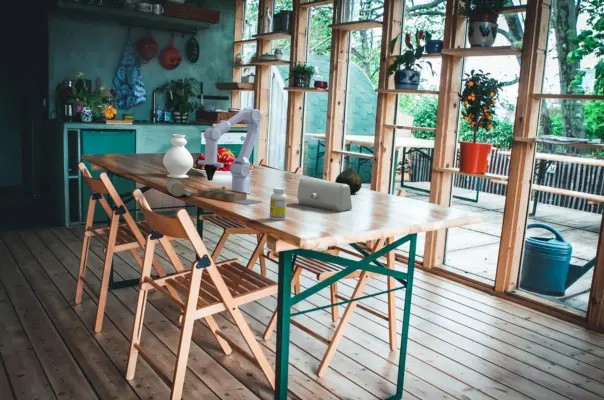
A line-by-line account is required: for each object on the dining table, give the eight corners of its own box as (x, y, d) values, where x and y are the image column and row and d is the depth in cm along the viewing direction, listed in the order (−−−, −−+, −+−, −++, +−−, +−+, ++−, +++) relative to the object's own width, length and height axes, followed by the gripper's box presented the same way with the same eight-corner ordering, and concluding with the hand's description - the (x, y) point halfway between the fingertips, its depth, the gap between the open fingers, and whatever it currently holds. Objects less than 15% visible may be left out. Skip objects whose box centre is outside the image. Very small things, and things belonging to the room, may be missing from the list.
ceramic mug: (170, 197, 266) (171, 181, 265) (166, 194, 274) (167, 178, 272) (192, 197, 271) (193, 181, 270) (188, 194, 278) (189, 179, 277)
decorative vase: (157, 174, 340) (158, 133, 336) (182, 174, 352) (184, 133, 348) (172, 179, 327) (173, 135, 323) (198, 177, 339) (199, 136, 335)
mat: (248, 199, 274) (248, 199, 274) (261, 202, 270) (261, 201, 270) (233, 202, 264) (233, 201, 264) (246, 204, 260) (246, 204, 260)
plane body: (198, 195, 276) (198, 188, 275) (211, 193, 284) (211, 186, 284) (233, 202, 265) (234, 194, 264) (246, 199, 273) (246, 192, 273)
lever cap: (213, 191, 274) (213, 185, 273) (220, 190, 278) (220, 185, 278) (224, 193, 270) (225, 187, 270) (231, 192, 275) (231, 186, 274)
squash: (338, 185, 307) (356, 165, 310) (326, 182, 320) (343, 163, 323) (354, 202, 312) (371, 182, 315) (342, 198, 326) (358, 179, 329)
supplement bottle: (269, 216, 235) (270, 186, 233) (284, 217, 236) (286, 187, 234) (269, 220, 229) (271, 189, 227) (285, 221, 230) (287, 189, 227)
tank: (289, 205, 267) (291, 179, 264) (309, 202, 279) (310, 177, 277) (333, 214, 252) (336, 186, 250) (352, 210, 265) (354, 184, 263)
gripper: (194, 151, 275) (193, 179, 278) (217, 154, 268) (216, 182, 270) (203, 151, 281) (202, 178, 284) (226, 154, 274) (225, 181, 276)
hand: (209, 180), depth 277 cm, fingers closed
